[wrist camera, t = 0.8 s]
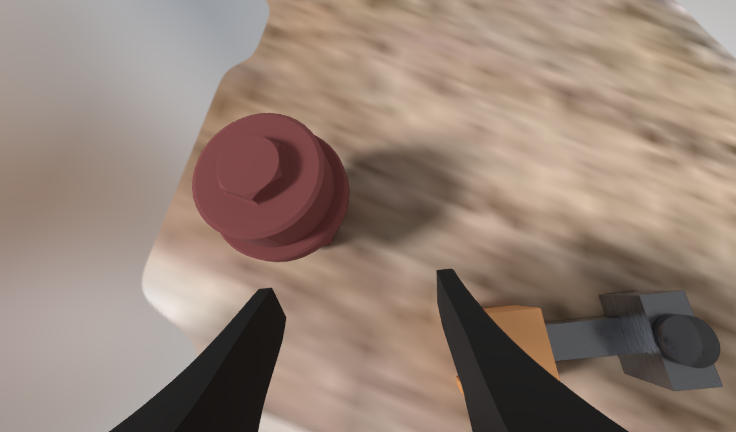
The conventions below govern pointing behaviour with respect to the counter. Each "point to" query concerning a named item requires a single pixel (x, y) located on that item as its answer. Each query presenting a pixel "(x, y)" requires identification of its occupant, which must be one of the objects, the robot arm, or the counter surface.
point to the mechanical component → (271, 187)
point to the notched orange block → (525, 333)
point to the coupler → (644, 339)
